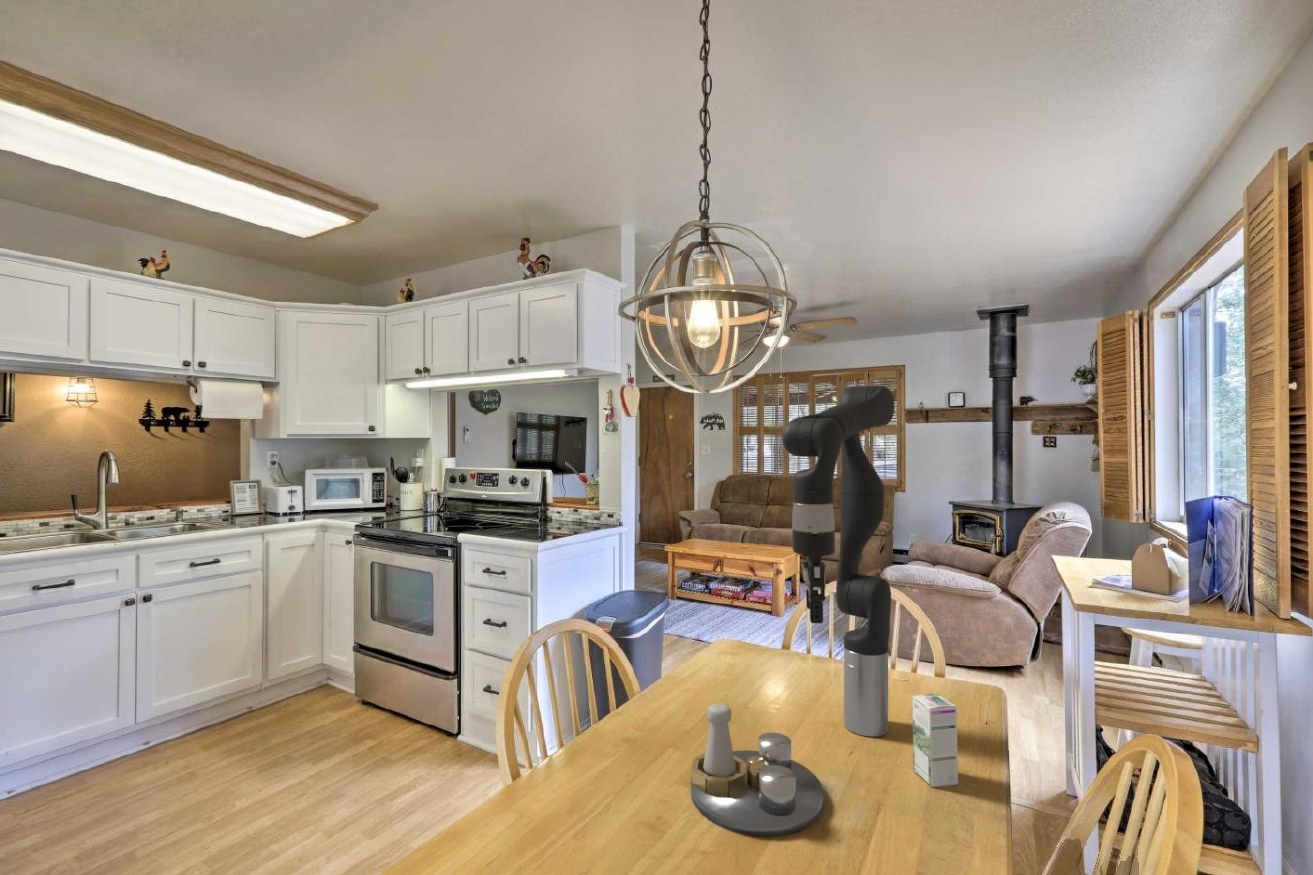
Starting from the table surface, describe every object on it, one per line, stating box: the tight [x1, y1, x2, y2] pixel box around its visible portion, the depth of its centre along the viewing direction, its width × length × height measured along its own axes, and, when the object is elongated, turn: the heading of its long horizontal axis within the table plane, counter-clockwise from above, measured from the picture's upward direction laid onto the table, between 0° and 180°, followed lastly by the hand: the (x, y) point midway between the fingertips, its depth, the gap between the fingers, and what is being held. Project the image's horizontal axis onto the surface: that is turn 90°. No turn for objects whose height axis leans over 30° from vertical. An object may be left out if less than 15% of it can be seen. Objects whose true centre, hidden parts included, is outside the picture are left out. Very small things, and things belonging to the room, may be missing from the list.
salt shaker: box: [703, 703, 736, 778], centre depth 108 cm, size 6×6×13 cm
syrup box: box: [912, 693, 959, 788], centre depth 112 cm, size 6×6×14 cm
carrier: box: [690, 732, 824, 838], centre depth 107 cm, size 23×23×7 cm
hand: (814, 615), depth 110 cm, fingers open, 8 cm apart
